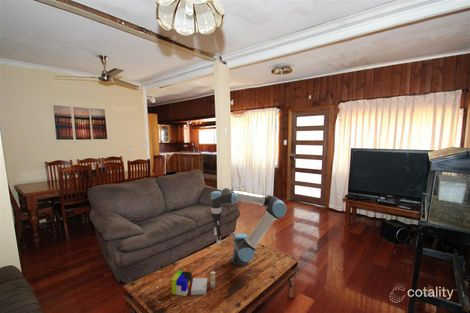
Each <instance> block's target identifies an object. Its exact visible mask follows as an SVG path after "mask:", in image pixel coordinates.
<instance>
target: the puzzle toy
mask: <svg viewBox="0 0 470 313" xmlns="http://www.w3.org/2000/svg"><path fill="white" fill-rule="evenodd" d="M192 274H193V272H191V271H184V270H178V271H177V272H176V273H175V275H174V276H173V277H172V279H171V294H173V295H179V296H181V297H182V296H183V297H187V295H188V293H189V292H190V291H191V288H192V282H193V275H192Z"/></svg>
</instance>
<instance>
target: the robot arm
mask: <svg viewBox="0 0 470 313" xmlns="http://www.w3.org/2000/svg"><path fill="white" fill-rule="evenodd" d="M237 202H243V203H249V204H250V203H251V204H255V205H260V206H261V207H264V208H265V211H264V212H265V213H264V215H263V216H262V218H261V219H260V221H259V222H258V223H257V225H256V226H255V227H254V228H253V230H252V231H251V233H250V234H249V235H248V234H246V233H244V232H239V233H236V234H234V235H233V253H232V256H231V263H232V264H233V265H235V266H238V267H244V266H247V265H248V264H249V263H250V262H251V261H252V260H253V259H254V258H255V252H256V251H257V248H258V246H257V245H258V244H259V243H260V241H261V240H262V238H263V237H264V236H265V234H267V232H268V230H269V229H270V227H271V226H272V225H273V223H274V222H275V221H277V220H279V219H280V218H282V217H284V216H285V215H286V214H287V209H288V208H287V205H286V203H285V202H284V201H282V200H281V199H280V198H278V197H277V196H274V195H268V194H256V193H251V192H245V191H240V190H234V189H229V188H228V187H224V188H222V190H221V191H220V190H215V191H211V193H210V204H211V205H210V207H211V208H210V210H211V218H212V219H213V227H214V228H213V229H214V230H213V232H214V236H215V237H216V245H221V244H222V241H221V240H222V238H221V236H222V234H221V221H220V219H221V218H222V216H223V215H222V214H223V213H222V210H223V209H222V208H223V207H222V205H228V204H237Z"/></svg>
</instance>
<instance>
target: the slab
mask: <svg viewBox="0 0 470 313" xmlns="http://www.w3.org/2000/svg"><path fill="white" fill-rule="evenodd" d="M207 286H208V277H192V286H191V288H190V295H191V296H194V295H195V296H198V295H207Z"/></svg>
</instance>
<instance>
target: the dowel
mask: <svg viewBox="0 0 470 313" xmlns="http://www.w3.org/2000/svg"><path fill="white" fill-rule="evenodd" d="M209 288H211V289H215V288H216V272H215V271H210V272H209Z"/></svg>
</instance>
